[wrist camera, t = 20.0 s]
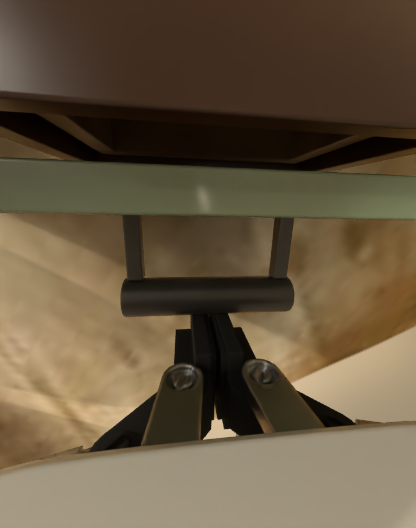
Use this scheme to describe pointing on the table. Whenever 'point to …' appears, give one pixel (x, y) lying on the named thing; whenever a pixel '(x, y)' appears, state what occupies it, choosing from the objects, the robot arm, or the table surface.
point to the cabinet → (213, 72)
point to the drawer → (201, 199)
